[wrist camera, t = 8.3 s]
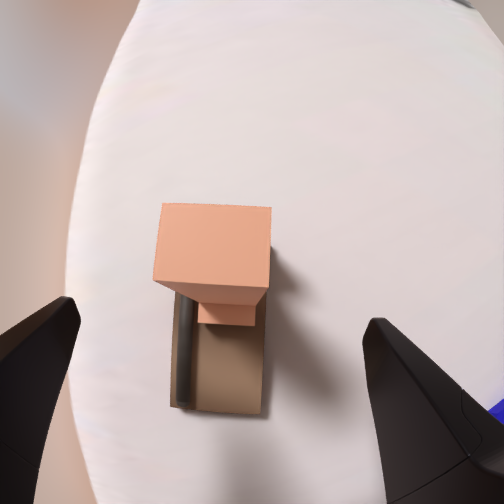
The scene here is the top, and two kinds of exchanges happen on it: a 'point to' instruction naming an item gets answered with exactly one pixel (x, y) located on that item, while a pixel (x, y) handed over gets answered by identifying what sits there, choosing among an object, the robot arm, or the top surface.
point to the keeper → (215, 258)
